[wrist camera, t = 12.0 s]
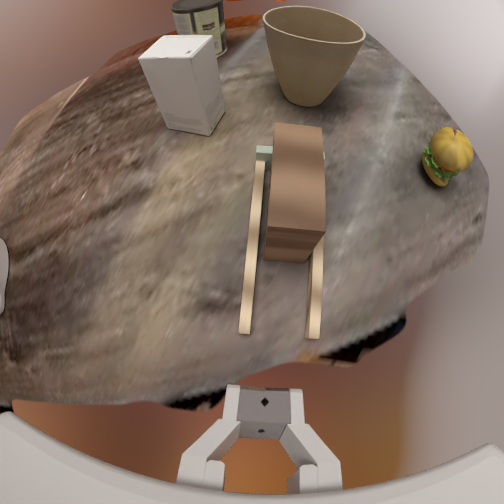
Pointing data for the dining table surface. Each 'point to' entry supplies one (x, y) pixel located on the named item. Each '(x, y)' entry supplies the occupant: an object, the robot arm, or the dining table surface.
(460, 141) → the hamburger
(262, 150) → the end stop
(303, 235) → the block
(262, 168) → the chute
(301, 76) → the plant pot
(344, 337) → the dining table surface
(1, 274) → the robot arm
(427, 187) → the dining table surface
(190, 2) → the coffee can
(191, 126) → the skincare box
